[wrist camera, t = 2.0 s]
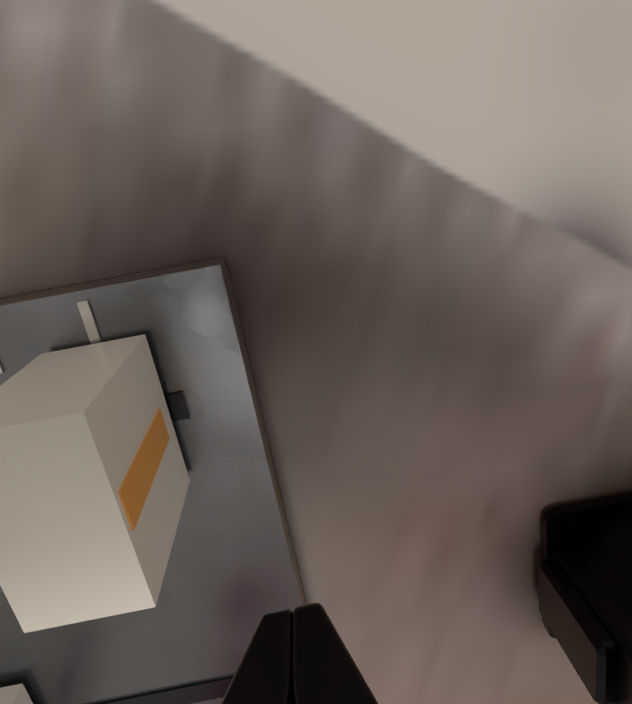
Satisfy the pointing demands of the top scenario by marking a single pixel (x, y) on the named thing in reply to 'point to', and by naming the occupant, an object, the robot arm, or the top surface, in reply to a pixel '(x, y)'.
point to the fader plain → (14, 695)
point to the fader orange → (87, 484)
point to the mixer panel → (199, 506)
